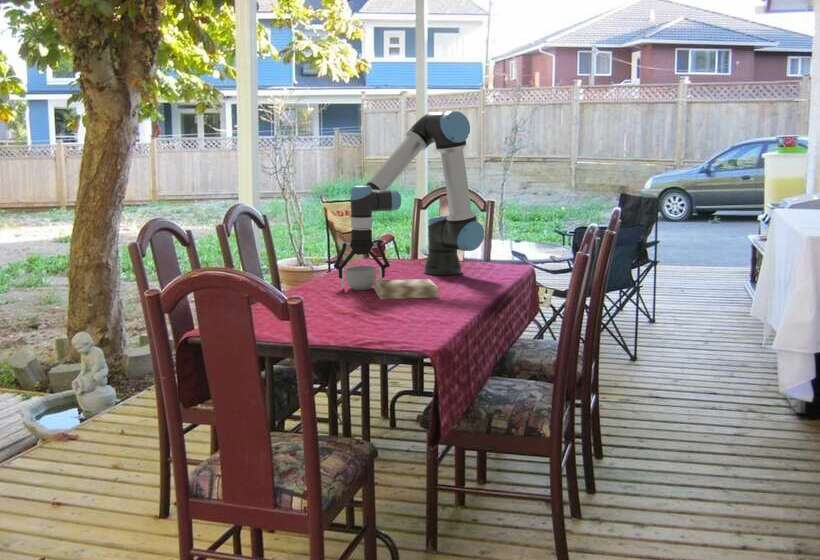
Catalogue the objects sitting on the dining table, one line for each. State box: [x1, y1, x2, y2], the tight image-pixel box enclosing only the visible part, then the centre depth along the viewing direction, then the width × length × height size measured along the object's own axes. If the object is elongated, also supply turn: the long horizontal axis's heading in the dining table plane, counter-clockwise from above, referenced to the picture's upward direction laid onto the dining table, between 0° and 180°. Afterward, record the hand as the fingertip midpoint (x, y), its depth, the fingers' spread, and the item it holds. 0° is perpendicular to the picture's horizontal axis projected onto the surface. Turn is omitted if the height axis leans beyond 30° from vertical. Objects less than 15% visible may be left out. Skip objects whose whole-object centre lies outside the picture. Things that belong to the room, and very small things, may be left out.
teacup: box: [345, 264, 377, 291], centre depth 321 cm, size 14×11×8 cm
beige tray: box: [374, 278, 439, 300], centre depth 309 cm, size 20×18×4 cm
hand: (361, 287), depth 321 cm, fingers open, 13 cm apart
